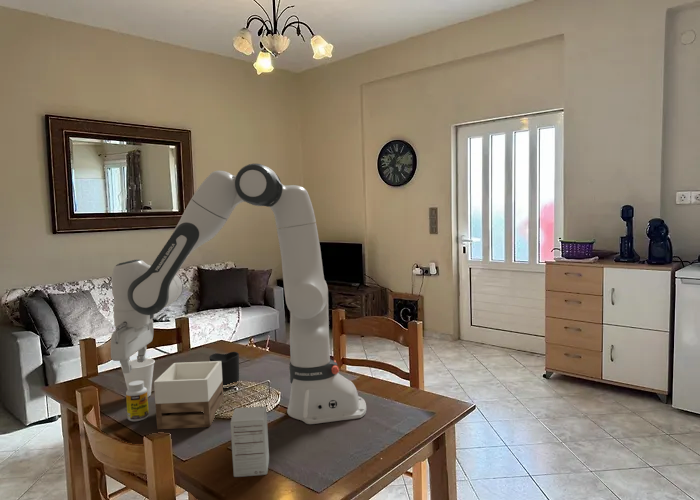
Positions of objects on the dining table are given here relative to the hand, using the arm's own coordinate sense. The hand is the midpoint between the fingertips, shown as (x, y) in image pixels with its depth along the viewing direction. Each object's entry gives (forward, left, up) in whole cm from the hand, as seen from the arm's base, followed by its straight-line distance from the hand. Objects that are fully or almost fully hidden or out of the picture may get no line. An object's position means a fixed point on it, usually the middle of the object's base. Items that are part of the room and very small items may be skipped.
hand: (134, 366), depth 137 cm
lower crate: (-15, 0, -15) cm, 21 cm away
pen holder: (-19, -24, -15) cm, 34 cm away
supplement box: (-37, +30, -15) cm, 50 cm away
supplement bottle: (0, 0, -15) cm, 15 cm away
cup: (+6, -16, -15) cm, 23 cm away
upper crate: (-15, 0, -8) cm, 17 cm away
